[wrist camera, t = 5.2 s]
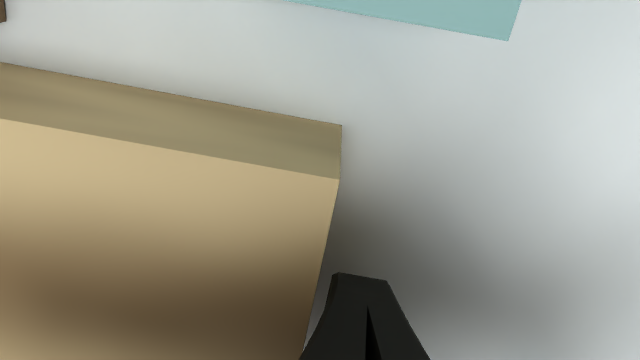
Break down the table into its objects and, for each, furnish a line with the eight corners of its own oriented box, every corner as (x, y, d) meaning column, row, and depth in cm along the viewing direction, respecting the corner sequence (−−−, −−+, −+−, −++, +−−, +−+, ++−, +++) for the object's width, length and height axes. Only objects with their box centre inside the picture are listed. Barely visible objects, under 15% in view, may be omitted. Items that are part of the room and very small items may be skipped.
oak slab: (289, 371, 15) (277, 467, 13) (19, 326, 15) (-53, 414, 12) (341, 121, 12) (340, 180, 9) (-12, 55, 11) (-123, 95, 9)
